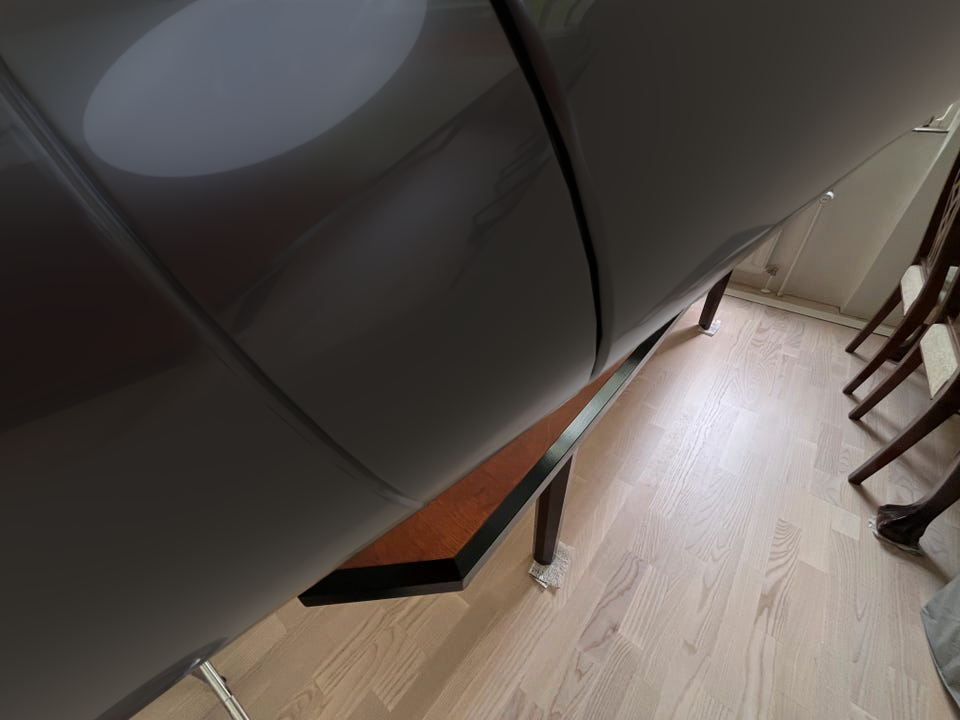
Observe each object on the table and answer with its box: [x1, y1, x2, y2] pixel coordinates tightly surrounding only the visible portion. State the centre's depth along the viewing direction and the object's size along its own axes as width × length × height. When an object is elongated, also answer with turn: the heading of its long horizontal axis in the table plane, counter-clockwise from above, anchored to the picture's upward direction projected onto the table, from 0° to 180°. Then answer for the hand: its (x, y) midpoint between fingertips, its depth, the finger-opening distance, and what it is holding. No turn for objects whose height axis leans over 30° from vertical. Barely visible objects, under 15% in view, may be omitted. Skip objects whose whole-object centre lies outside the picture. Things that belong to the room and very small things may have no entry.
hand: (352, 303), depth 36 cm, fingers closed on ink box, 5 cm apart
